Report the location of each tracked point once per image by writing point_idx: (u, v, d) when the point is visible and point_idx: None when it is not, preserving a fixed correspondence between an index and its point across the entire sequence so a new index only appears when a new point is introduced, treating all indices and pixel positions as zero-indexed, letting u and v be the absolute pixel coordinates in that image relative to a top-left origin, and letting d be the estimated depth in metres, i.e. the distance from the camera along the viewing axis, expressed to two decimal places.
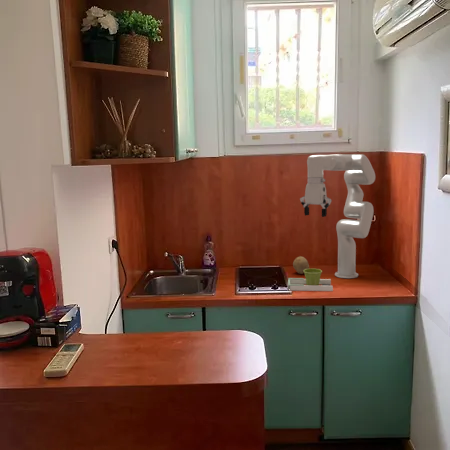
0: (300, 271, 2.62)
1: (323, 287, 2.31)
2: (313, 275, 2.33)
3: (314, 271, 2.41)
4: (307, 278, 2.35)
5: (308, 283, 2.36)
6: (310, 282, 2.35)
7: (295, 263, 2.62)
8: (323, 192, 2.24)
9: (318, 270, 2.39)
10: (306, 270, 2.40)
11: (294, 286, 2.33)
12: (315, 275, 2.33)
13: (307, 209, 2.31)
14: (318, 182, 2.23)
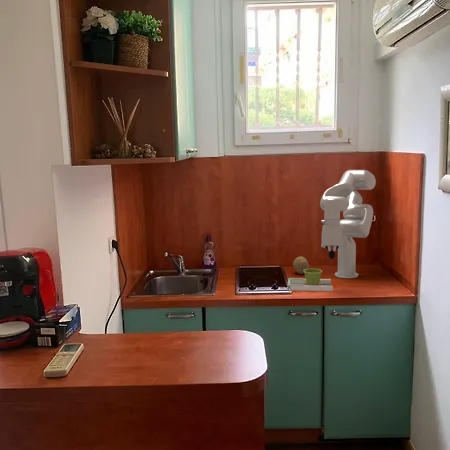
0: (300, 271, 2.62)
1: (323, 287, 2.31)
2: (313, 275, 2.33)
3: (314, 271, 2.41)
4: (307, 278, 2.35)
5: (308, 283, 2.36)
6: (310, 282, 2.35)
7: (295, 263, 2.62)
8: None
9: (318, 270, 2.39)
10: (306, 270, 2.40)
11: (294, 286, 2.33)
12: (315, 275, 2.33)
13: None
14: None
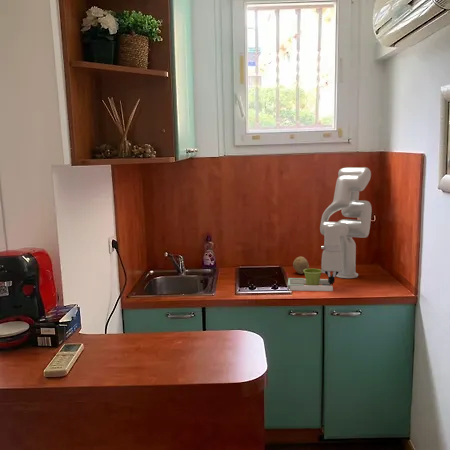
0: (300, 271, 2.62)
1: (323, 287, 2.31)
2: (313, 275, 2.33)
3: (314, 271, 2.41)
4: (307, 278, 2.35)
5: (308, 283, 2.36)
6: (310, 282, 2.35)
7: (295, 263, 2.62)
8: None
9: (318, 270, 2.39)
10: (306, 270, 2.40)
11: (294, 286, 2.33)
12: (315, 275, 2.33)
13: None
14: None
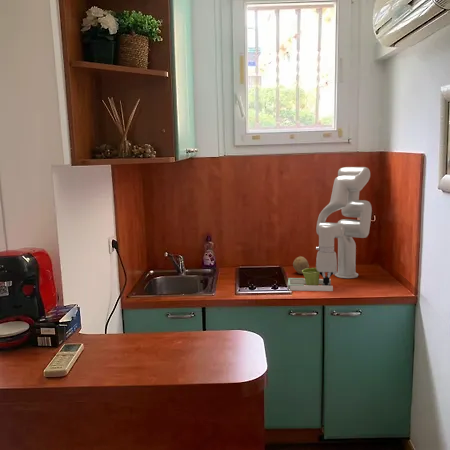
0: (300, 271, 2.62)
1: (323, 287, 2.31)
2: (312, 275, 2.33)
3: (313, 270, 2.41)
4: (306, 278, 2.35)
5: (308, 283, 2.36)
6: (309, 282, 2.35)
7: (295, 263, 2.62)
8: (316, 259, 2.36)
9: None
10: (305, 270, 2.40)
11: (294, 286, 2.33)
12: (314, 274, 2.33)
13: None
14: None
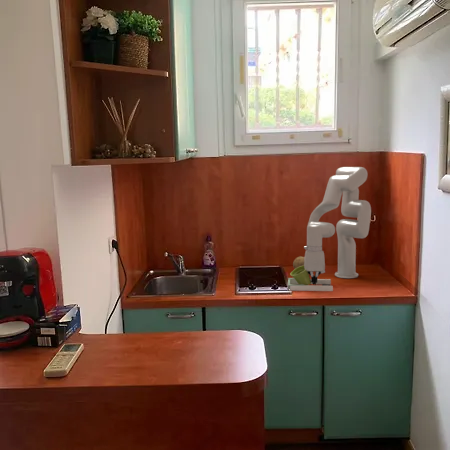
0: None
1: (323, 287, 2.31)
2: (300, 275, 2.33)
3: (301, 269, 2.41)
4: (297, 279, 2.35)
5: (300, 283, 2.36)
6: (301, 282, 2.35)
7: (295, 263, 2.62)
8: (304, 258, 2.36)
9: None
10: (293, 272, 2.40)
11: (294, 286, 2.33)
12: (302, 274, 2.33)
13: None
14: None
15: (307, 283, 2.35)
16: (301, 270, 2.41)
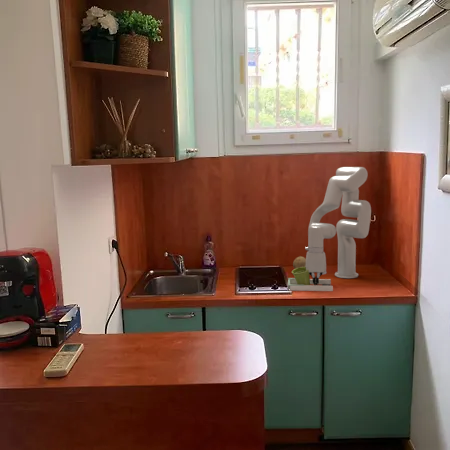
0: None
1: (323, 287, 2.31)
2: (302, 274, 2.33)
3: (302, 269, 2.41)
4: (297, 278, 2.36)
5: (299, 283, 2.36)
6: (300, 282, 2.35)
7: (295, 263, 2.62)
8: None
9: None
10: (294, 270, 2.40)
11: (294, 286, 2.33)
12: (304, 274, 2.33)
13: None
14: None
15: (306, 284, 2.35)
16: (302, 271, 2.41)
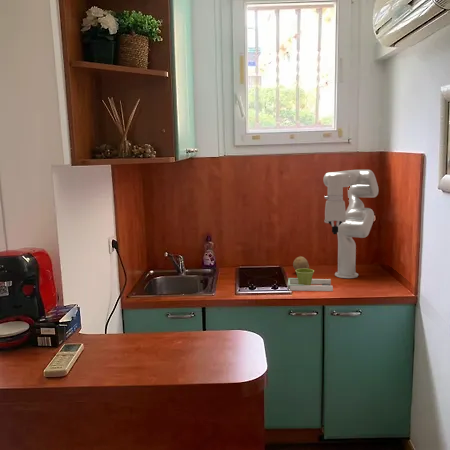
0: None
1: (323, 287, 2.31)
2: (305, 275, 2.33)
3: (306, 271, 2.41)
4: (299, 278, 2.36)
5: (300, 283, 2.36)
6: (302, 282, 2.35)
7: (295, 263, 2.62)
8: None
9: (310, 270, 2.40)
10: (298, 270, 2.41)
11: (294, 286, 2.33)
12: (307, 275, 2.34)
13: None
14: None
15: None
16: (306, 272, 2.41)
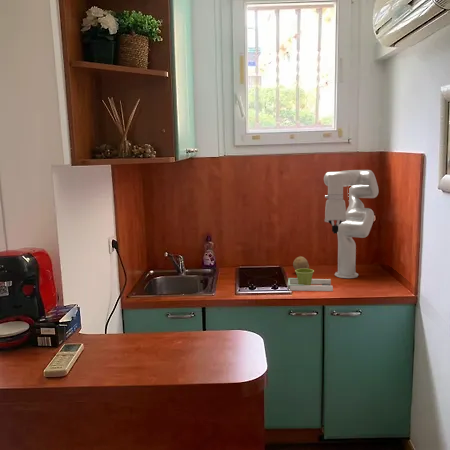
0: None
1: (323, 287, 2.31)
2: (305, 275, 2.33)
3: (305, 271, 2.41)
4: (299, 278, 2.36)
5: (300, 283, 2.36)
6: (302, 282, 2.35)
7: (295, 263, 2.62)
8: None
9: (310, 270, 2.40)
10: (298, 270, 2.41)
11: (294, 286, 2.33)
12: (307, 275, 2.34)
13: None
14: None
15: None
16: (305, 272, 2.41)
